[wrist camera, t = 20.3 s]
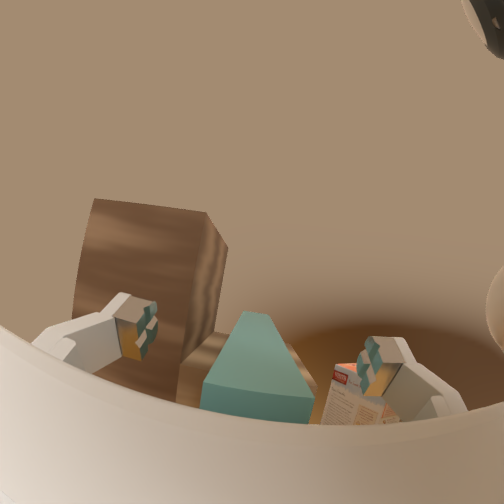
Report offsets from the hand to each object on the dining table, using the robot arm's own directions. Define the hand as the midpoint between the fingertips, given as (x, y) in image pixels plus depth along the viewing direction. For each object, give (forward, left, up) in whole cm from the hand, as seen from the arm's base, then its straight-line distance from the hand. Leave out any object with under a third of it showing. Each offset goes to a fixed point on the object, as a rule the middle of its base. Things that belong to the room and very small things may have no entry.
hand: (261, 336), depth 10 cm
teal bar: (-8, -5, -4) cm, 11 cm away
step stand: (-10, -12, -30) cm, 34 cm away
